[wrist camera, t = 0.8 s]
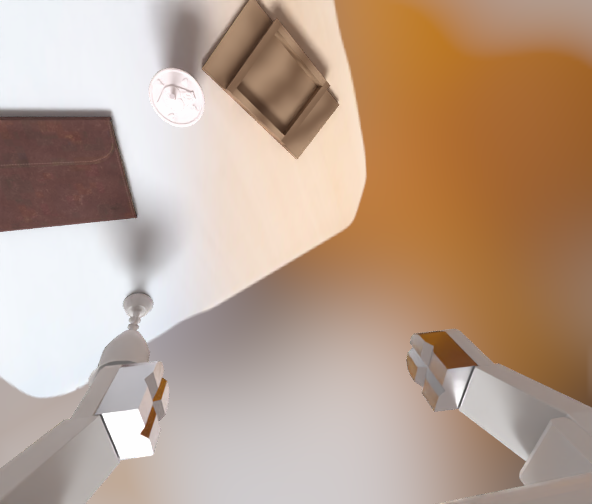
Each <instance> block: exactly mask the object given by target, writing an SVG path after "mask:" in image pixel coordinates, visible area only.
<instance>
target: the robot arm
mask: <svg viewBox="0 0 592 504" xmlns="http://www.w3.org/2000/svg"><path fill="white" fill-rule="evenodd" d="M410 344H411V345H412V347H413V348H412V349H411V350H410V351H409V352H408V354H407V359H406V361H407V368H408V371H409V373H410V376H411V377H412V379H413V380H414V381H415V382H416V383H417V384H419V385H421V386H422V394H423V396H424V397H425V399H426V400H427V402H428V403H429V405H430V406H431V408H432V409H433V411H434V412H435V411H444V410H452V409H459V411H461V412H462V413H463V414H465V415H466V416H467V417H469V418H470V419H471V420H473V421H474V422H476V424H478V425H479V426H480V427H482V428H483V429H484V430H486V431H487V432H488V433H490V434H491V435H492V436H494V437H495V438H496V439H498V440H499V441H500V442H502V443H503V444H504V445H505V446H507V447H508V448H510V449H511V450H512V451H513V452H515V453H516V454H517V455H519V456H520V457H521V458H523V459H524V460H525V461H526V463H525V464H524V466H523V468H522V470H521V471H520V477H519V478H520V480H521V481H522V482H523V484H524V485H525V486H521V487H516V488H511V489H506V490H501V491H496V492H491V493H486V494H481V495H476V496H472V497H467V498H462V499H457V500H452V501H447V502H442V503H437V504H592V408H591V407H589V406H587V405H585V404H582V403H581V402H579V401H576V400H574V399H572V398H570V397H568V396H566V395H564V394H562V393H560V392H557V391H555V390H553V389H551V388H549V387H547V386H544V385H543V384H541V383H539V382H536V381H534V380H532V379H530V378H528V377H526V376H524V375H522V374H520V373H517V372H515V371H513V370H511V369H509V368H507V367H505V366H503V365H501V364H494V363H493V362H492V361H491V360H490V359H489V358H488V357H487V356H486V355H484V354H483V353H482V352H481V351H480V350H479V349H478V348H477V347H476V346H475V345H474V344H473V343H472V342H471V341H470V340H469V339H468V338H467V337H466V336H465V335H463V333H462V332H460V331H459V330H457V329H449V330H442V331H433V332H425V333H416V334H413V336H412V337H411V341H410ZM163 373H164V367H163V364H162V362H160V361H155V362H143V363H130V364H124V365H111V366H105V367H104V368H102V369H101V370H100V371H99V373H98V375H97V376H96V378H95V380H94V381H93V383H92V384H91V386H90V388H89V389H88V391H87V392H86V394H85V396H84V397H83V399H82V401H81V402H80V404H79V405H78V407H77V409H76V410H75V412H74V413H73V415H72V417H71V418H70V419H66V420H63V421H62V422H60V423H59V424H58V425H56V426H55V427H54V428H53V429H51V430H50V431H49V432H47V433H46V434H45V435H44V436H42V437H41V438H40V439H39V440H37V441H36V442H34V443H33V444H32V445H30V446H29V447H28V448H26V449H25V450H24V451H23V452H21V453H20V454H19V455H17V456H16V457H15V458H13V459H12V460H11V461H10V462H8V463H7V464H6V465H4V466H3V467H2V468H0V504H86V503H87V502H88V500H89V499H90V498H91V497H92V496H93V494H94V493H95V492H96V491H97V489H98V488H99V487H100V486H101V485H102V484H103V482H104V481H105V480H106V479H107V477H108V476H109V475H110V474H111V473H112V471H113V470H114V469H115V468H116V467H117V465H118V464H119V463H120V461H119V460H124V459H130V458H136V457H141V456H147V455H152V454H154V452H155V448H156V445H157V441H158V438H159V435H160V431H161V428H160V425H159V421H160V420H161V419H162V418H163V417H164V416H165V414H166V411H167V407H168V400H169V386H168V382H167V380H165V379H164V378H162V375H163Z"/></svg>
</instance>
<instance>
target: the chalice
mask: <svg viewBox="0 0 592 504" xmlns="http://www.w3.org/2000/svg"><path fill="white" fill-rule="evenodd" d="M123 307H124V310H125V312H126V314H127V315H128V316H130V317H131V318H130V319H129V322H130V323H131V324H129V325H128V329H129V330H127V331H124V332H123V333H121V334H120V335H118V336H117V337H116V338H114V339H113V340H112V341H111V342H110V343H109V344H108V345H107V346H106V347H105V349H104V351H103V352H102V355H101V358H100V361H99V364H98V367H97V368H96V369H95V370H94V371H93V372H92V373H91V375H90V377H89V384H88V385H89V386H91V384H92V383H93V381H94V380H95V378H96V376H97V375H98V373H99V371H100V370H101V369H102V368H104V367H105V366H111V365H124V364H130V363H143V362H149V355H150V351H149V349H148V346H147V343H146V341H145V340H144V338H143V337H142V335H141V334H140V333H139V332H138V331H136V330H137V329H138V328H139V326H138V325H137V324H138V323H140V321H141V319H140V318H142V317H144V316H145V315H147V314H148V313H149V312H150V311H151V310H152V308H153V300H152V299H151V298H150V297H149V296H148V295H145V294H142V293H136V294H132V295H129V296H128V297H127V298H125V300H124V302H123Z"/></svg>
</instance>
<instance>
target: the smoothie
mask: <svg viewBox="0 0 592 504" xmlns="http://www.w3.org/2000/svg"><path fill="white" fill-rule="evenodd" d="M149 98H150V102H151V104H152V107H153V108H154V110H155V112H156V113H157V114H158V115H159V116H160V118H162V119H163V120H164V121H166V122H167V123H169V124H171V125H174V126H178V127H187V126H190V125H193V124H194V123H196V122H197V121H198V120H199V119H200V118H201V116H202V114H203V111H204V108H205V99H204V94H203V91H202V89H201V87H200V85H199V83H198V82H197V81H196V80H195V78H194V77H192V76H191V75H190V74H189V73H187V72H185V71H183V70H181V69H178V68H165V69H162V70H160V71H159V72H157V73H156V74H155V75H154V76H153V78H152V80H151V82H150V85H149Z"/></svg>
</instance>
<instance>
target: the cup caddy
mask: <svg viewBox="0 0 592 504" xmlns="http://www.w3.org/2000/svg"><path fill="white" fill-rule="evenodd" d="M202 70H203V71H204V72H205V73H206V74H207V75H209V76H210V77H211V78H212V79H213V80H214V81H215V82H216V83H217V84H218V85H219V86H220V87H221V88H222V89H223V90H224V91H225V92H226V93H227V94H228V95H230V96H231V97H232V98H233V99H234V100H235V101H236V102H237V103H238V104H239V105H240V106H241V107H242V108H243V109H244V110H245V111H246V112H247V113H248V114H249V115H250V116H252V117H253V118H254V119H255V120H256V121H257V122H258V123H259V124H260V125H261V126H262V127H263V128H264V129H265V130H266V131H267V132H268V133H269V134H270V135H271V136H273V137H274V138H275V139H276V140H277V141H278V142H279V143H280V144H281V145H282V146H283V147H284V148H285V149H286V150H287V151H288V152H289V153H290V154H291V155H292V156H294V157H295V158H296V159H298V158H299V156H300V155H301V154H302V153H303V151H304V150H305V149H306V147H307V146H308V145H309V143H310V142H311V141H312V140H313V138H314V137H315V136H316V134H317V133H318V132H319V130H320V129H321V128H322V127H323V125H324V124H325V123H326V121H327V120H328V119H329V117H330V116H331V115H332V114H333V112H334V111H335V110H336V108H337V107H338V106H339V104H338V103H337V101H336V100H335V99H334V98H333V96H332V95H331V94H330V93H329V91H328V90H327V89H328V88H329V87H330V85H329V83H328V82H327V81H326V80H325V78H324V77H323V76H322V75H321V73H320V72H319V71H318V69H317V68H316V67H315V66H314V64H313V63H312V62H311V61H310V59H309V58H308V57H307V55H306V54H305V53H304V52H303V50H302V49H301V48H300V47H299V45H298V44H297V43H296V41H295V40H294V39H293V38H292V36H291V35H290V34H289V33H288V31H287V30H286V29H285V27H284V26H283V25H282V24H281V22H280V21H279V20H278V19H277V18H276V19H275V21H274V22H273V21H272V20H271V19H270V18H269V16H268V15H267V14H266V13H265V11H264V10H263V9H262V8H261V6H260V5H259V4H258V3H257V2H256V0H249V1H248V2H247V4H246V5H245V7H244V8H243V10H242V11H241V13H240V14H239V15H238V17H237V18H236V20H235V21H234V23H233V24H232V26H231V27H230V28H229V30H228V31H227V33H226V34H225V36H224V37H223V39H222V40H221V41H220V43H219V44H218V46H217V47H216V49H215V50H214V52H213V53H212V55H211V56H210V57H209V59H208V60H207V62H206V63H205V65H204V66H203V68H202Z"/></svg>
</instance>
